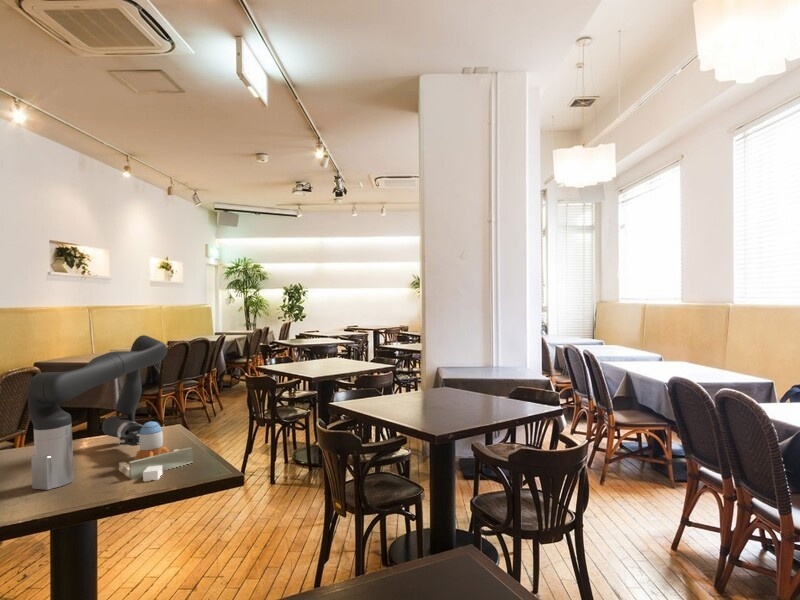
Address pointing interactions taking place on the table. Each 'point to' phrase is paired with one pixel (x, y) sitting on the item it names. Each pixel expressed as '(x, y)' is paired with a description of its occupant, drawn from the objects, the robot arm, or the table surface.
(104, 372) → the robot arm
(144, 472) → the fin block
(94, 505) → the table surface
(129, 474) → the cradle
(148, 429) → the toy rocket
